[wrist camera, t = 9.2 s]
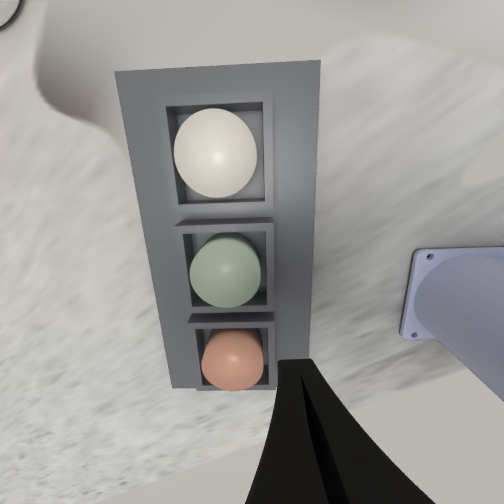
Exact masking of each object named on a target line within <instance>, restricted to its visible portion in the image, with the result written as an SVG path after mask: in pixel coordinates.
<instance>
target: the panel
mask: <svg viewBox="0 0 504 504" xmlns="http://www.w3.org/2000/svg"><path fill="white" fill-rule="evenodd" d="M320 65H321V60H309V61H292V62H274V63H256V64H239V65H220V66H203V67H186V68H167V69H149V70H132V71H115V72H114V73H115V78H116V84H117V89H118V95H119V100H120V105H121V110H122V116H123V122H124V127H125V133H126V138H127V144H128V149H129V155H130V160H131V166H132V171H133V177H134V182H135V187H136V193H137V198H138V204H139V209H140V215H141V220H142V226H143V231H144V237H145V242H146V248H147V253H148V258H149V264H150V269H151V275H152V280H153V286H154V291H155V297H156V302H157V308H158V313H159V319H160V324H161V329H162V335H163V340H164V346H165V351H166V357H167V362H168V368H169V373H170V379H171V384H172V388H196V389H197V391H211V390H223V389H220V388H218V387H216V386H214V385H213V384H211V383H210V382H209V381H208V380H207V379H206V377H205V376H204V374H203V371H202V366H201V364H202V359H203V355H204V352H205V348H206V345H207V342H208V338H209V335H210V333H211V332H212V330H213V329H224V328H255V329H256V330H257V331H258V332H259V334H260V336H261V338H262V342H263V373H262V376H261V378H260V379H259V380H258V382H257V383H256V384H254V385H253V386H251V387H249V388H247V389H244V390H276V387H277V385H278V363H277V362H278V361H279V360H283V359H309V334H310V310H311V285H312V261H313V236H314V212H315V187H316V163H317V138H318V114H319V89H320ZM211 108H213V109H222V110H226V111H229V112H231V113H233V114H234V115H236V116H237V117H239V118H240V119H241V120H242V121H243V122H244V123H245V124H246V125H247V127H248V128H249V130H250V131H251V133H252V135H253V138H254V141H255V144H256V151H257V163H256V168H255V171H254V174H253V176H252V177H251V179H250V180H249V182H248V183H247V184H246V185H245V186H244V187H243V188H242V189H241V190H239V191H238V192H236V193H235V194H233V195H230V196H227V197H222V198H213V197H207V196H204V195H202V194H199V193H197V192H196V191H194V190H193V189H192V188H190V187H189V186H188V185H187V184H186V183H185V181H184V180H183V179H182V177H181V176H180V174H179V172H178V170H177V167H176V164H175V159H174V144H175V139H176V136H177V133H178V131H179V129H180V127H181V126H182V124H183V123H184V122H185V121H186V120H187V119H188V118H189V117H190V116H191V115H193V114H195V113H196V112H199V111H201V110H205V109H211ZM222 233H235V234H238V235H241V236H243V237H245V238H247V239H248V240H249V241H251V243H252V244H253V245H254V246H255V247H256V249H257V251H258V254H259V257H260V274H261V277H260V284H259V287H258V290H257V292H256V293H255V295H254V296H253V297H252V298H251V299H250V300H249V301H247V302H246V303H244V304H242V305H240V306H237V307H232V308H222V307H217V306H214V305H211V304H209V303H207V302H205V301H204V300H203V299H202V298H200V297H199V296H198V294H197V293H196V292H195V290H194V289H193V287H192V284H191V281H190V267H191V264H192V261H193V259H194V257H195V256H196V255H197V253H198V252H199V251H200V249H201V248H202V246H203V245H204V244H205V243H206V242H207V241H208V240H209V239H210V238H212V237H213V236H215V235H218V234H222Z"/></svg>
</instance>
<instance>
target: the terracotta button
mask: <svg viewBox="0 0 504 504" xmlns="http://www.w3.org/2000/svg"><path fill="white" fill-rule="evenodd" d="M201 366H202V371H203V374H204V376H205V377H206V379H207V380H208V381H209V382H210V383H211V384H213V385H214V386H216V387H218V388H220V389H223V390H228V391H240V390H244V389H247V388H249V387H251V386H253V385H254V384H256V383H257V382H258V380H259V379H260V378H261V376H262V373H263V342H262V338H261V336H260V334H259V332H258V331H257V330H256V329H255V328H224V329H213V330H212V332H211V333H210V335H209V338H208V342H207V345H206V348H205V352H204V355H203V359H202V364H201Z"/></svg>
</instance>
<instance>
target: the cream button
mask: <svg viewBox="0 0 504 504" xmlns="http://www.w3.org/2000/svg"><path fill="white" fill-rule="evenodd" d="M174 159H175V164H176V167H177V170H178V172H179V174H180V176H181V177H182V179H183V180H184V181H185V183H186V184H187V185H188V186H189V187H190V188H192V189H193V190H194V191H196V192H197V193H199V194H202V195H204V196H207V197H213V198H222V197H227V196H230V195H233V194H235V193H236V192H238V191H239V190H241V189H242V188H243V187H244V186H245V185H246V184H247V183H248V182H249V180H250V179H251V177H252V176H253V174H254V171H255V168H256V163H257V151H256V144H255V141H254V138H253V135H252V133H251V131H250V130H249V128H248V127H247V125H246V124H245V123H244V122H243V121H242V120H241V119H240V118H239V117H237V116H236V115H234V114H233V113H231V112H229V111H226V110H222V109H213V108H211V109H205V110H201V111H199V112H196V113H195V114H193V115H191V116H190V117H189V118H188V119H187V120H186V121H185V122H184V123H183V124H182V126H181V127H180V129H179V131H178V133H177V136H176V139H175V144H174Z"/></svg>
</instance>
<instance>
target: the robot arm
mask: <svg viewBox="0 0 504 504" xmlns="http://www.w3.org/2000/svg"><path fill="white" fill-rule="evenodd" d="M428 254H430V257H428V258H427V255H428ZM414 332H415V333H414ZM412 333H414V334H412ZM400 335H401V336H402V338H403V339H406V340H420V339H437V340H438V341H439V342H440V343H441V344H443V345H444V346H445V347H446V348H447V349H448V350H449V351H450V352H451V353H452V354H453V355H454V356H455V357H456V358H457V359H459V360H460V361H461V362H462V363H463V364H464V365H465V366H466V367H467V368H468V369H469V370H470V371H471V372H472V373H473V374H475V375H476V376H477V377H478V378H479V379H480V380H481V381H482V382H483V383H484V384H486V386H487V387H489V388H490V389H491V390H492V391H493V392H494V393H495V394H496V395H497V396H498V397H499V398H500V399H501V400H502V401H504V247H479V248H446V249H420V250H418V251H416V252H415V254H414V257H413V263H412V269H411V274H410V280H409V286H408V291H407V297H406V302H405V308H404V314H403V319H402V325H401V330H400ZM277 363H278V385H277V393H276V398H275V404H274V410H273V414H272V419H271V423H270V427H269V431H268V435H267V439H266V442H265V446H264V450H263V453H262V456H261V459H260V462H259V465H258V468H257V471H256V474H255V477H254V480H253V483H252V486H251V489H250V491H249V494H248V497H247V500H246V502H245V504H435V503H434V502H433V501H432V500H431V499H430V498H429V497H428V496H427V495H426V494H425V493H424V492H423V491H421V490H420V489H419V488H418V487H417V486H416V485H415V484H414V483H413V482H412V481H411V480H410V479H409V478H408V477H407V476H406V475H405V474H404V473H403V472H402V471H401V470H400V469H399V468H398V467H397V466H396V465H395V464H394V463H393V462H392V461H391V460H390V459H389V457H388V456H387V455H386V454H385V453H384V452H383V451H382V450H381V449H380V448H379V447H378V446H377V445H376V443H374V441H373V440H372V439H371V438H370V437H369V435H368V434H367V433H366V432H365V431H364V430H363V428H362V427H361V426H360V425H359V424H358V422H357V421H356V420H355V419H354V418H353V416H352V415H351V414H350V413H349V411H348V410H347V409H346V407H345V406H344V405H343V403H342V402H341V401H340V400H339V398H338V397H337V396H336V394H335V393H334V392H333V390H332V389H331V387H330V386H329V385H328V383H327V382H326V380H325V379H324V377H323V376H322V374H321V373H320V371H319V370H318V368H317V367H316V365H315V363H314V362H313V360H312V359H283V360H279V361H278V362H277Z"/></svg>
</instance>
